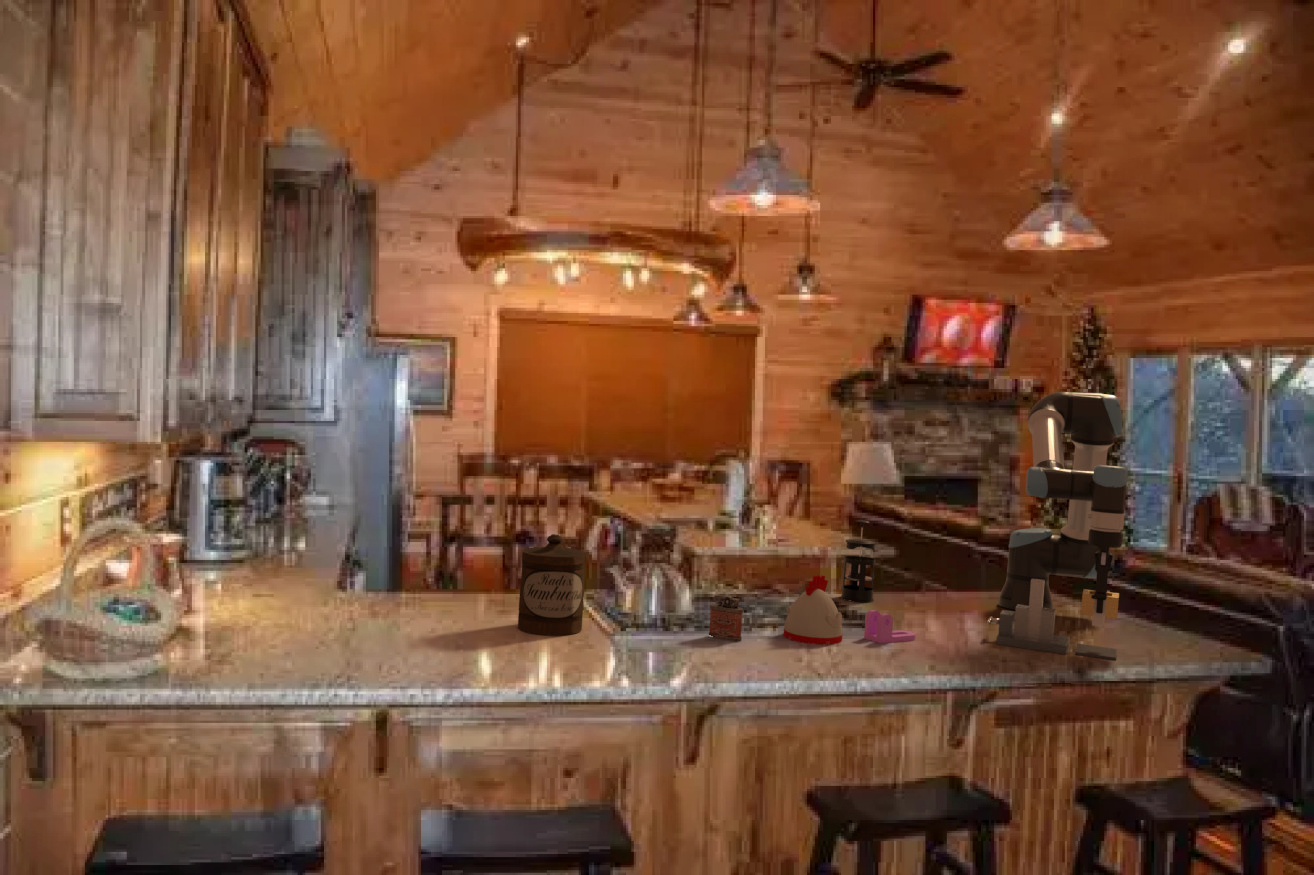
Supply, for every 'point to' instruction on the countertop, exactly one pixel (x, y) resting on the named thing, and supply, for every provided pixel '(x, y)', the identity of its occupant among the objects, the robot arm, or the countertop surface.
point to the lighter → (726, 619)
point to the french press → (858, 571)
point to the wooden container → (551, 589)
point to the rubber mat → (1096, 651)
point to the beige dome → (814, 616)
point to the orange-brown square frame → (1110, 604)
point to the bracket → (884, 629)
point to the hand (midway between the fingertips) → (1098, 623)
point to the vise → (1030, 624)
